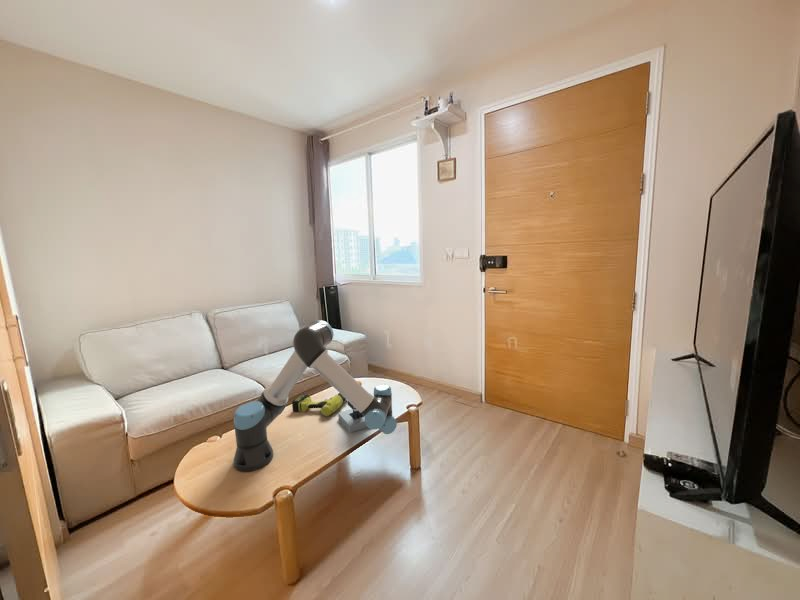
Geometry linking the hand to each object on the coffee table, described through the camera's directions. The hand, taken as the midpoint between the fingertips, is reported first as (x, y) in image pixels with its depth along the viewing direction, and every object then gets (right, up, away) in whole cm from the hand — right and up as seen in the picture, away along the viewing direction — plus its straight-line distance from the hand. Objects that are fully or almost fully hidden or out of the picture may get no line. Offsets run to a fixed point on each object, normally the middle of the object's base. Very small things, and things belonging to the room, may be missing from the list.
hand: (352, 393), depth 168 cm
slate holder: (+3, -13, -2) cm, 14 cm away
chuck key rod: (+3, -11, -3) cm, 12 cm away
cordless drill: (-19, -11, +16) cm, 28 cm away
